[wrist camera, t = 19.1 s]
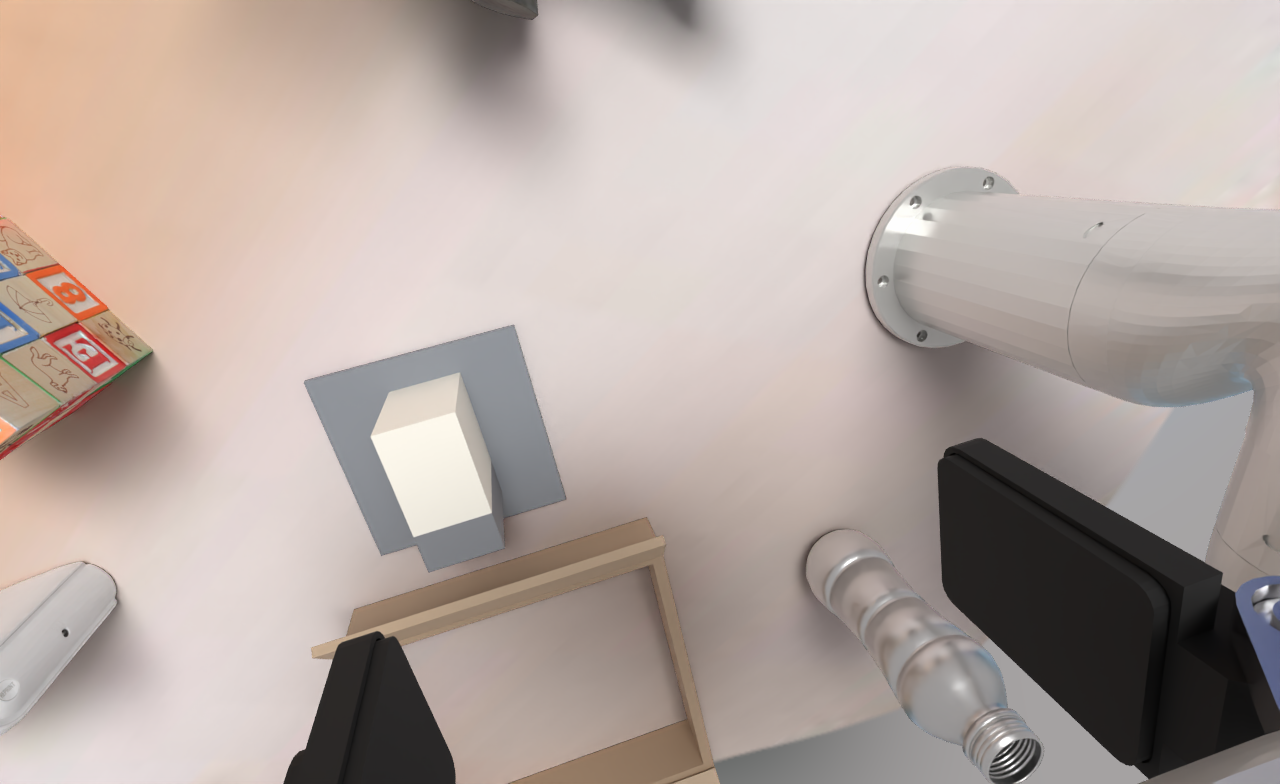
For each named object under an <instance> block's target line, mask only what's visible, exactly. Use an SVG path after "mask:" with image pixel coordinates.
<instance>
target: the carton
mask: <svg viewBox="0 0 1280 784" xmlns="http://www.w3.org/2000/svg"><path fill="white" fill-rule="evenodd" d="M665 547H666V543H665V540H664V537H663V535H662V536H659V537H656V536H655V534H654V532H653V530H652V528H651V525H650V523H649V521H648V519H647V517H646V518H643V519H640V520H636V521H633V522H630V523H627V524H624V525H621V526H617V527H614V528H611V529H608V530H605V531H602V532H598V533H595V534H592V535H589V536H586V537H582V538H579V539H576V540H573V541H570V542H567V543H563V544H560V545H557V546H554V547H551V548H548V549H544V550H541V551H538V552H535V553H532V554H529V555H525V556H522V557H519V558H516V559H513V560H509V561H506V562H503V563H500V564H497V565H494V566H490V567H487V568H484V569H481V570H478V571H475V572H471V573H468V574H465V575H462V576H459V577H456V578H452V579H449V580H446V581H443V582H440V583H437V584H433V585H430V586H427V587H424V588H421V589H417V590H414V591H411V592H408V593H405V594H402V595H398V596H395V597H392V598H389V599H386V600H383V601H379V602H376V603H373V604H370V605H367V606H364V607H360V608H357V609H354V611H353V615H352V618H351V621H350V625H349V628H348V632H347V635H346V637H343V638H340V639H337V640H334V641H330V642H327V643H324V644H321V645H318V646H315V647H312V648H311V651H312V658H317V659H333V658H334V655H335V652H336V649H337V647H338V645H339V644H340V643H341V642H344V641H347V640H350V639H353V638H356V637H360V636H363V635H366V634H369V633H372V632H375V631H380V632H381V633H382V634H383V635H384V637H385V638H388V637H391V636H395V637H396V638H397V640H398V641H399V643H400V645H401V646H403V645H406V644H409V643H412V642H415V641H418V640H421V639H424V638H428V637H431V636H434V635H437V634H440V633H443V632H446V631H449V630H452V629H455V628H458V627H461V626H464V625H467V624H471V623H474V622H477V621H480V620H483V619H486V618H489V617H492V616H495V615H498V614H501V613H504V612H507V611H510V610H514V609H517V608H520V607H523V606H526V605H529V604H532V603H535V602H538V601H541V600H544V599H547V598H550V597H554V596H557V595H560V594H563V593H566V592H569V591H572V590H575V589H578V588H581V587H584V586H587V585H590V584H593V583H597V582H600V581H603V580H606V579H609V578H612V577H615V576H618V575H621V574H624V573H627V572H630V571H633V570H636V569H640V568H643V567H646V566H648V567H649V571H650V575H651V579H652V582H653V586H654V590H655V594H656V598H657V602H658V606H659V610H660V614H661V618H662V622H663V625H664V629H665V633H666V637H667V641H668V645H669V649H670V653H671V657H672V661H673V665H674V668H675V672H676V676H677V680H678V684H679V688H680V692H681V696H682V700H683V704H684V708H685V711H686V715H687V720H684V721H681V722H678V723H675V724H673V725H670V726H667V727H664V728H662V729H659V730H656V731H653V732H650V733H648V734H645V735H642V736H639V737H637V738H634V739H631V740H628V741H626V742H623V743H620V744H617V745H614V746H612V747H609V748H606V749H603V750H601V751H598V752H595V753H592V754H589V755H587V756H584V757H581V758H578V759H576V760H573V761H570V762H567V763H565V764H562V765H559V766H556V767H553V768H551V769H548V770H545V771H542V772H540V773H537V774H534V775H531V776H528V777H526V778H523V779H520V780H517V781H515V782H512V783H509V784H720V782H719V779H718V776H717V773H716V770H715V767H714V763H713V759H712V755H711V750H710V746H709V742H708V738H707V734H706V730H705V726H704V722H703V718H702V713H701V709H700V705H699V701H698V697H697V693H696V689H695V685H694V681H693V676H692V672H691V668H690V664H689V660H688V656H687V652H686V648H685V643H684V639H683V635H682V631H681V627H680V623H679V619H678V615H677V611H676V606H675V602H674V598H673V594H672V590H671V586H670V582H669V578H668V574H667V569H666V565H665V561H664V557H663V555H664V551H665Z"/></svg>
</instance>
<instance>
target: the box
mask: <svg viewBox="0 0 1280 784" xmlns="http://www.w3.org/2000/svg"><path fill="white" fill-rule="evenodd" d="M370 437H371V439H372V441H373V444H374V446H375V448H376V451H377V453H378V455H379V458H380V460H381V462H382V465H383V467H384V469H385V472H386V474H387V476H388V479H389V481H390V483H391V486H392V488H393V490H394V493H395V495H396V497H397V500H398V502H399V504H400V507H401V509H402V511H403V514H404V516H405V518H406V521H407V523H408V525H409V528H410V530H411V532H412V535H413V537H414V539H415V542H416V544H417V546H418V549H419V551H420V553H421V556H422V558H423V561H424V563H425V565H426V568H427V570H428V572H432V571H435V570H438V569H441V568H445V567H448V566H451V565H454V564H457V563H460V562H464V561H467V560H470V559H473V558H476V557H479V556H482V555H486V554H489V553H492V552H495V551H498V550H501V549H504V548H505V542H504V521H503V499H502V490H501V487H500V484H499V481H498V479H497V476H496V473H495V470H494V467H493V464H492V462H491V459H490V456H489V453H488V450H487V447H486V444H485V442H484V439H483V436H482V433H481V430H480V427H479V425H478V422H477V419H476V416H475V413H474V410H473V408H472V405H471V402H470V399H469V396H468V393H467V390H466V388H465V385H464V382H463V379H462V376H461V373H460V372H459V373H456V374H452V375H448V376H445V377H441V378H438V379H434V380H431V381H427V382H423V383H420V384H416V385H413V386H409V387H406V388H402V389H398V390H395V391H391V392H389V393H388V396H387V398H386V401H385V403H384V405H383V408H382V410H381V413H380V415H379V417H378V420H377V422H376V424H375V427H374V429H373V432H372V434H371V436H370Z"/></svg>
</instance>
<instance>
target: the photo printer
mask: <svg viewBox="0 0 1280 784" xmlns="http://www.w3.org/2000/svg"><path fill="white" fill-rule="evenodd" d="M115 595H116V585H115V583H114V581H113V579H112V578H111V576H110V575H109V574H108V573H106V572H105V571H104V570H102V569H101V568H99V567H97V566H95V565H92V564H85V563H84V562H82V561H81V562H75V563H71V564H67V565H64V566H61V567H58V568H55V569H52V570H50V571H47V572H45V573H42V574H40V575H37V576H34V577H32V578H29V579H27V580H24V581H22V582H19V583H17V584H14V585H12V586H10V587H7V588H5V589H3V590H0V736H1V735H3V734H4V733H5V732H7V731H8V730H9V729H11V728H12V727H13V726H14V725H16V724H17V723H18V722H19V721H20V720H21V719H22V718H24V717H25V715H26V714H27V713H28V712H29V711H30V710H31V708H32V707H33V706H34V705H35V703H36V702H37V701H38V700H39V699H40V697H41V696H42V695H43V694H44V692H45V691H46V690H47V689H48V688H49V686H50V685H51V684H52V683H53V682H54V680H55V679H56V678H57V677H58V675H59V674H60V673H61V672H62V670H63V669H64V668H65V667H66V666H67V664H68V663H69V662H70V661H71V660H72V658H73V657H74V656H75V655H76V654H77V652H78V651H79V650H80V649H81V648H82V646H83V645H84V644H85V643H86V641H87V640H88V639H89V638H90V637H91V635H92V634H93V633H94V632H95V631H96V629H97V628H98V627H99V626H100V625H101V623H102V622H103V621H104V620H105V619H106V617H107V616H108V615H109V614H110V613H111V611H112V610H113V609H114V608H115V606H116V604H117V600H116V599H115Z"/></svg>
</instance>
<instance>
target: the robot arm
mask: <svg viewBox="0 0 1280 784" xmlns="http://www.w3.org/2000/svg"><path fill="white" fill-rule="evenodd" d="M878 279H879V280H878ZM866 288H867V293H868V297H869V302H870V304H871V306H872V309H873V311H874V313H875V315H876V317H877V318H878V319H879V321H880V322H881V323H882V325H883V326H884V327H885V328H886V329H887V330H888V331H889V332H891V333H892V334H893V335H894V336H896V337H898V338H900V339H902V340H904V341H906V342H908V343H911V344H913V345H916V346H919V347H926V348H943V347H950V346H953V345H957V344H960V343H963V342H965V341H967V342H970V343H973V344H975V345H978V346H981V347H983V348H986V349H988V350H991V351H994V352H996V353H999V354H1002V355H1004V356H1007V357H1009V358H1012V359H1015V360H1017V361H1020V362H1023V363H1025V364H1028V365H1030V366H1033V367H1036V368H1038V369H1041V370H1044V371H1046V372H1049V373H1051V374H1054V375H1057V376H1059V377H1062V378H1065V379H1067V380H1070V381H1072V382H1075V383H1078V384H1080V385H1083V386H1086V387H1089V388H1092V389H1094V390H1097V391H1100V392H1102V393H1105V394H1108V395H1110V396H1113V397H1116V398H1118V399H1121V400H1124V401H1128V402H1131V403H1135V404H1140V405H1146V406H1152V407H1183V406H1190V405H1197V404H1203V403H1208V402H1212V401H1216V400H1219V399H1224V398H1227V397H1231V396H1234V395H1238V394H1241V393H1244V392H1247V391H1250V390H1254V395H1253V403H1252V407H1251V411H1250V415H1249V418H1248V422H1247V425H1246V428H1245V433H1246V434H1245V437H1244V439H1243V443H1242V445H1241V448H1240V451H1239V454H1238V457H1237V460H1236V463H1235V466H1234V469H1233V471H1232V474H1231V477H1230V480H1229V483H1228V486H1227V489H1226V492H1225V495H1224V497H1223V500H1222V503H1221V506H1220V509H1219V512H1218V515H1217V519H1216V523H1215V525H1214V529H1213V532H1212V534H1211V538H1210V541H1209V545H1208V549H1207V553H1206V558H1205V562H1203V561H1201V560H1199V559H1197V558H1196V557H1194V556H1192V555H1190V554H1188V553H1187V552H1185V551H1183V550H1182V549H1180V548H1178V547H1176V546H1174V545H1172V544H1171V543H1169V542H1167V541H1165V540H1164V539H1162V538H1160V537H1158V536H1156V535H1155V534H1153V533H1151V532H1149V531H1148V530H1146V529H1144V528H1142V527H1140V526H1139V525H1137V524H1135V523H1133V522H1132V521H1130V520H1128V519H1126V518H1124V517H1123V516H1121V515H1119V514H1117V513H1115V512H1114V511H1112V510H1110V509H1108V508H1107V507H1105V506H1103V505H1101V504H1100V503H1098V502H1096V501H1094V500H1092V499H1091V498H1089V497H1087V496H1085V495H1083V494H1082V493H1080V492H1078V491H1076V490H1075V489H1073V488H1071V487H1069V486H1067V485H1066V484H1064V483H1062V482H1060V481H1059V480H1057V479H1055V478H1053V477H1051V476H1050V475H1048V474H1046V473H1044V472H1042V471H1041V470H1039V469H1037V468H1035V467H1034V466H1032V465H1030V464H1028V463H1026V462H1025V461H1023V460H1021V459H1019V458H1018V457H1016V456H1014V455H1012V454H1010V453H1009V452H1007V451H1005V450H1003V449H1001V448H1000V447H998V446H996V445H994V444H993V443H991V442H989V441H987V440H985V439H982V438H977V439H974V440H970V441H967V442H964V443H961V444H958V445H955V446H952V447H949V448H948V449H946V451H945V453H944V458H942V459H941V460H939V462H938V490H939V515H940V540H941V564H942V583H943V587H944V590H945V592H946V594H947V596H948V598H949V599H950V601H951V602H952V603H953V604H954V605H955V606H956V607H957V608H958V609H959V610H960V611H961V612H962V613H964V614H965V615H966V616H967V617H968V618H969V619H970V620H971V621H972V622H973V623H974V624H975V625H976V626H977V627H978V628H979V629H980V630H981V631H982V632H983V633H985V634H986V635H987V636H988V637H989V638H990V639H991V640H992V641H993V642H994V643H995V644H996V645H997V646H998V647H999V648H1000V649H1002V651H1004V652H1005V653H1006V654H1007V655H1008V656H1009V657H1010V658H1011V659H1012V660H1013V661H1014V662H1015V663H1016V664H1017V665H1018V666H1019V667H1020V668H1021V669H1022V670H1023V671H1025V672H1026V673H1027V674H1028V675H1029V676H1030V677H1031V678H1032V679H1033V680H1034V681H1035V682H1036V683H1037V684H1038V685H1039V686H1040V687H1041V688H1042V689H1043V690H1044V691H1046V692H1047V693H1048V694H1049V695H1050V696H1051V697H1052V698H1053V699H1054V700H1055V701H1056V702H1057V703H1058V704H1059V705H1060V706H1061V707H1062V708H1064V710H1065V711H1067V712H1068V713H1069V714H1070V715H1071V716H1072V717H1073V718H1074V719H1075V720H1076V721H1077V722H1078V723H1079V724H1080V725H1081V726H1082V727H1083V728H1084V729H1085V730H1086V731H1088V732H1089V733H1090V734H1091V735H1092V736H1093V737H1094V738H1095V739H1096V740H1097V741H1098V742H1099V743H1100V744H1101V745H1102V746H1103V747H1104V748H1106V749H1107V750H1108V751H1109V752H1110V753H1111V754H1112V755H1113V756H1114V757H1115V758H1116V759H1117V760H1119V761H1120V762H1122V763H1124V764H1125V765H1129V766H1132V765H1134V766H1135V767H1137V768H1138V769H1139V770H1140V771H1141V772H1142V773H1143V774H1144V775H1145V776H1146V777H1147V778H1148V779H1149V780H1146V781H1144V782H1142V783H1139V784H1280V210H1279V209H1246V208H1223V207H1207V206H1191V205H1172V204H1157V203H1142V202H1127V201H1111V200H1096V199H1081V198H1065V197H1050V196H1035V195H1020V194H1019V192H1018V191H1017V190H1016V189H1015V188H1014V186H1013V185H1012V184H1011V183H1010V182H1009V181H1008V180H1006V179H1005V178H1003V177H1002V176H1000V175H999V174H997V173H995V172H992V171H989V170H987V169H984V168H976V167H950V168H946V169H943V170H939V171H935V172H933V173H931V174H929V175H927V176H925V177H923V178H921V179H919V180H918V181H916V182H915V183H913V184H912V185H911V186H909V187H908V188H907V189H905V190H904V191H903V192H902V193H901V194H900V195H899V196H898V197H897V198H896V200H895V201H894V202H893V203H892V204H891V205H890V207H889V208H888V210H887V211H886V213H885V214H884V215H883V217H882V218H881V220H880V222H879V224H878V226H877V228H876V231H875V233H874V235H873V238H872V241H871V244H870V247H869V251H868V256H867V263H866ZM283 784H455V768H454V762H453V759H452V756H451V753H450V751H449V749H448V746H447V744H446V742H445V740H444V738H443V736H442V734H441V731H440V729H439V727H438V725H437V723H436V721H435V718H434V716H433V714H432V712H431V710H430V708H429V706H428V703H427V701H426V699H425V697H424V695H423V693H422V690H421V688H420V686H419V684H418V682H417V680H416V678H415V675H414V673H413V671H412V669H411V667H410V665H409V663H408V660H407V658H406V656H405V654H404V652H403V650H402V647H401V645H400V643H399V641H398V640H397V638H396V637H395V636H391V637H388V638H385V637H384V635H383V634H382V633H381V632H380V631H375V632H372V633H369V634H366V635H363V636H360V637H356V638H353V639H350V640H347V641H344V642H341V643H340V644H339V645H338V647H337V649H336V652H335V655H334V658H333V661H332V665H331V668H330V671H329V674H328V678H327V681H326V684H325V687H324V691H323V694H322V697H321V700H320V704H319V707H318V710H317V714H316V717H315V720H314V723H313V727H312V730H311V733H310V736H309V740H308V743H307V746H306V749H305V750H302V751H299V752H298V753H297V754H296V755H295V757H294V758H293V760H292V762H291V764H290V766H289V768H288V771H287V774H286V777H285V780H284V783H283Z"/></svg>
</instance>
